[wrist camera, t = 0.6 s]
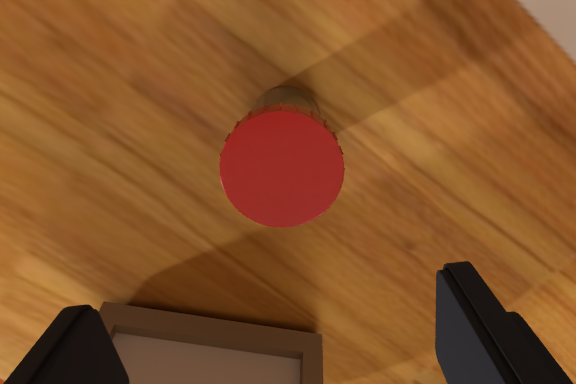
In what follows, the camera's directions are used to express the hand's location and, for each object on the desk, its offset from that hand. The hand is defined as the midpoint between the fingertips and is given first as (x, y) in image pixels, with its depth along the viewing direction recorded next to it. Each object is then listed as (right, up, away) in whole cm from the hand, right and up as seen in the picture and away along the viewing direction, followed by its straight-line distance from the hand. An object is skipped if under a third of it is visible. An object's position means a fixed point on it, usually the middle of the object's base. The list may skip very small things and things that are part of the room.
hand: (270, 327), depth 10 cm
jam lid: (0, +5, +10) cm, 11 cm away
